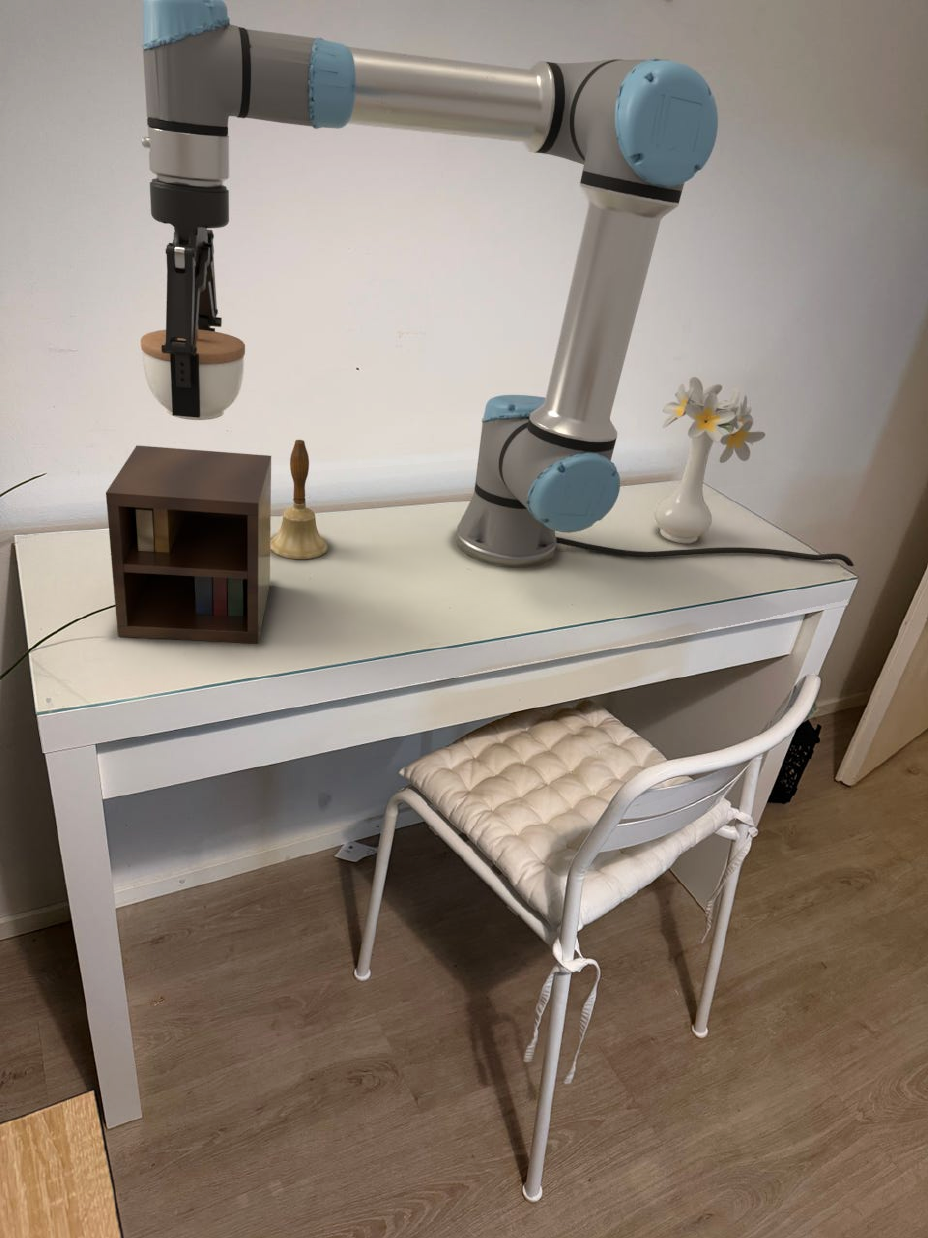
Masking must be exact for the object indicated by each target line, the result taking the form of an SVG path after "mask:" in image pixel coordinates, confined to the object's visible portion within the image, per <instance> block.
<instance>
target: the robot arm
mask: <svg viewBox="0 0 928 1238" xmlns="http://www.w3.org/2000/svg"><path fill="white" fill-rule="evenodd" d="M230 20H231V19H230V17H229V15H228V7H227V4H226V3H225V2H224V1H223V0H143V1H142V46H141V47H142V55H143V56H142V57H143V58H142V59H143V73H144V91H145V108H146V117H147V118H146V123H147V124H146V126H147V136H143V137H142V140H141V145H142V147H144V148H145V149H149V151H148V165H149V171H150V172H151V173H152V174H154V175H156V178H152V179H151V181H150V182H149V196H150V198H149V199H150V215H151V217H152V218H153V219H154V220H155V221H156V222H158V223H162V224H165V225H166V224H167V225H171V226H172V227H173V230H174V231H173V239H172V242H168V244H166V248H165V255H166V305H165V306H166V307H165V308H166V309H165V330H166V343H165V345H162V346H161V348H162V353H168V354H170V363H171V388H172V413H173V416H172V417H175V416H184V417H196V418H199V417H200V382H199V354H198V353H197V347H196V344H197V329H198V330H207V331H215V332H216V328H221V327H222V324H223V319H222V317H221V316H220V317H218V314H219V309H218V305H217V303H218V302H217V290H216V289H217V288H216V273H215V272H216V271H215V261H214V259H215V257H214V254H215V247H214V238H215V234H214V231H213V230H212V229H220V228H224V227H226V226H228V224H229V222H230V190H229V189H228V187H227V186H225V185H224V182H226V181H228V180H229V179H230V136H229V118H230V117H235V118H238V119H251V120H258V121H259V120H260V121H265V122H272V123H280V124H288V125H295V126H302V127H303V126H304V127H312V128H313V129H315V130H318V129H322V128H324V129H343V128H344V127H346V126H347V125H353V126H363V127H371V128H372V127H373V128H380V129H381V128H383V129H391V130H402V131H410V132H411V131H412V132H421V133H422V132H423V133H430V134H440V135H441V134H442V135H448V136H449V135H450V136H459V137H468V138H479V139H490V140H497V141H508V142H515V143H516V142H517V143H521V145H522V146H523V148H524V150H526V152H528V153H535V154H542V155H543V154H544V155H549V156H553V157H558V158H562V159H565V160H569V161H571V162H575V163H578V164H580V165H583V167H582V172H581V177H580V181H579V188H580V190H581V191H582V193H583V195H584V197H585V198H586V201H587V204H588V206H587V210H586V214H585V219H584V224H583V228H582V232H581V236H580V242H579V246H578V251H577V255H576V260H575V264H574V269H573V273H572V277H571V282H570V285H569V286H570V287H569V291H568V295H567V300H566V304H565V308H564V313H563V318H562V322H561V327H560V332H559V336H558V340H557V345H556V350H555V353H554V354H555V355H554V358H553V364H552V367H551V373H550V376H549V381H548V385H547V390H546V395H545V396H537V395H527V394H501V395H496V396H493V397H491V398H490V399H489V400H487V402H486V404H485V407H484V412H483V417H482V418H481V423H482V425H481V433H480V440H479V441H480V442H479V450H478V458H477V465H476V466H477V467H476V474H475V483H474V492H473V495H472V497H471V498H470V501H469V503H468V504H467V507H466V509H465V511H464V513H463V515H462V517H461V519H460V521H459V523H458V525H457V529H456V537H455V541H456V544H457V546H458V548H459V549H460V550H461V551H462V552H463V553H465V554H466V555H468V556H469V557H471V558H473V559H475V560H478V561H480V562H483V563H487V564H491V565H494V566H499V567H506V568H530V567H535V566H540V565H543V564H545V563H548V562H550V561H551V560H552V559H553V558H554V555H555V553H556V546H557V544H559V545H564V546H568V547H572V548H573V547H574V548H578V549H582V550H587V551H593V552H598V553H603V554H608V555H614V556H621V557H629V558H630V557H631V558H632V557H633V558H645V559H646V558H648V559H649V558H652V559H653V558H668V557H682V556H684V557H685V556H697V555H711V554H713V555H714V554H756V555H768V556H777V557H778V556H779V557H786V558H794V559H800V560H809V561H828V560H838V561H842V562H844V563H845V564H846V565H847V566H848V567H854V566H855V564H854V563H853V561H852V559H851V558H850V557H848V556H847V555H844V554H842V553H823V554H813V553H806V552H805V553H804V552H797V551H789V550H784V549H774V548H762V547H743V546H742V547H740V546H739V547H734V546H733V547H730V546H729V547H727V546H725V547H723V546H722V547H701V548H691V549H690V548H689V549H672V550H671V549H669V550H658V551H657V550H655V551H642V550H641V551H640V550H629V549H619V548H613V547H607V546H602V545H598V544H593V543H592V544H591V543H586V542H581V541H577V540H574V539H569V538H563V537H558V536H557V535H556V532H558V533H565V534H570V533H576V532H581V531H584V530H587V529H590V528H592V527H593V526H594V524H595V523H597V522H599V521H601V520H603V519H604V518H605V517H606V516H607V515H608V514H609V512H610V511H611V510H612V509H613V507H614V506H615V504H616V502H617V499H618V497H619V494H620V491H621V477H620V474H619V472H618V469H617V466H616V465H615V463H614V462H613V461H612V457H613V453H614V449H615V445H616V442H617V437H618V431H617V429H616V427H615V426H614V424H613V422H612V421H611V415H612V410H613V406H614V403H615V399H616V396H617V392H618V387H619V383H620V379H621V377H622V371H623V368H624V364H625V360H626V357H627V352H628V348H629V344H630V340H631V337H632V334H633V329H634V325H635V322H636V318H637V313H638V310H639V306H640V303H641V298H642V294H643V291H644V287H645V283H646V278H647V275H648V271H649V267H650V264H651V259H652V257H653V253H654V248H655V244H656V240H657V237H658V233H659V229H660V225H661V221H662V220H663V218H664V217H665V216H667V215H668V214H670V213H671V212H672V211H673V210H675V209H676V208H678V207H679V204H680V200H681V196H682V193H683V189H684V187H685V184H686V182H688V181H690V180H691V179H693V178H694V177H695V175H696V174H697V173H698V172H699V171H701V170H702V169H703V168H704V167H705V165H706V164H707V162H708V161H709V159H710V157H711V155H712V153H713V150H714V147H715V144H716V141H717V136H718V129H719V114H718V107H717V102H716V98H715V96H714V94H713V93H712V90H711V87H710V85H709V83H708V82H707V80H706V79H705V78H704V77H703V75H702V74H700V73H699V72H698V71H697V70H696V69H694V68H693V67H691V66H689V65H687V64H686V63H685V64H684V63H681V62H677V61H672V60H670V59H661V58H656V57H653V58H649V59H648V58H647V59H621V58H620V59H619V58H612V59H604V60H596V61H595V60H594V61H585V62H563V63H562V62H553V61H552V62H550V61H545V60H539V61H537V62H535V63H534V64H533V65H532V66H530V68H529V69H527V68H518V67H513V66H512V67H511V66H504V65H495V64H487V63H481V62H472V61H464V60H457V59H448V58H441V57H433V56H424V55H416V54H411V53H410V54H409V53H401V52H394V51H393V52H392V51H387V50H379V49H371V48H363V47H355V46H347V45H346V44H344V43H340V42H336V41H331V40H326V39H324V38H322V37H309V36H304V35H302V36H301V35H296V34H289V33H281V32H273V31H264V30H257V29H248V28H246V27H242V26H238V25H234V24H231V22H230ZM178 338H182V339H185V340H186V341H183V340H177V339H178Z"/></svg>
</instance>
